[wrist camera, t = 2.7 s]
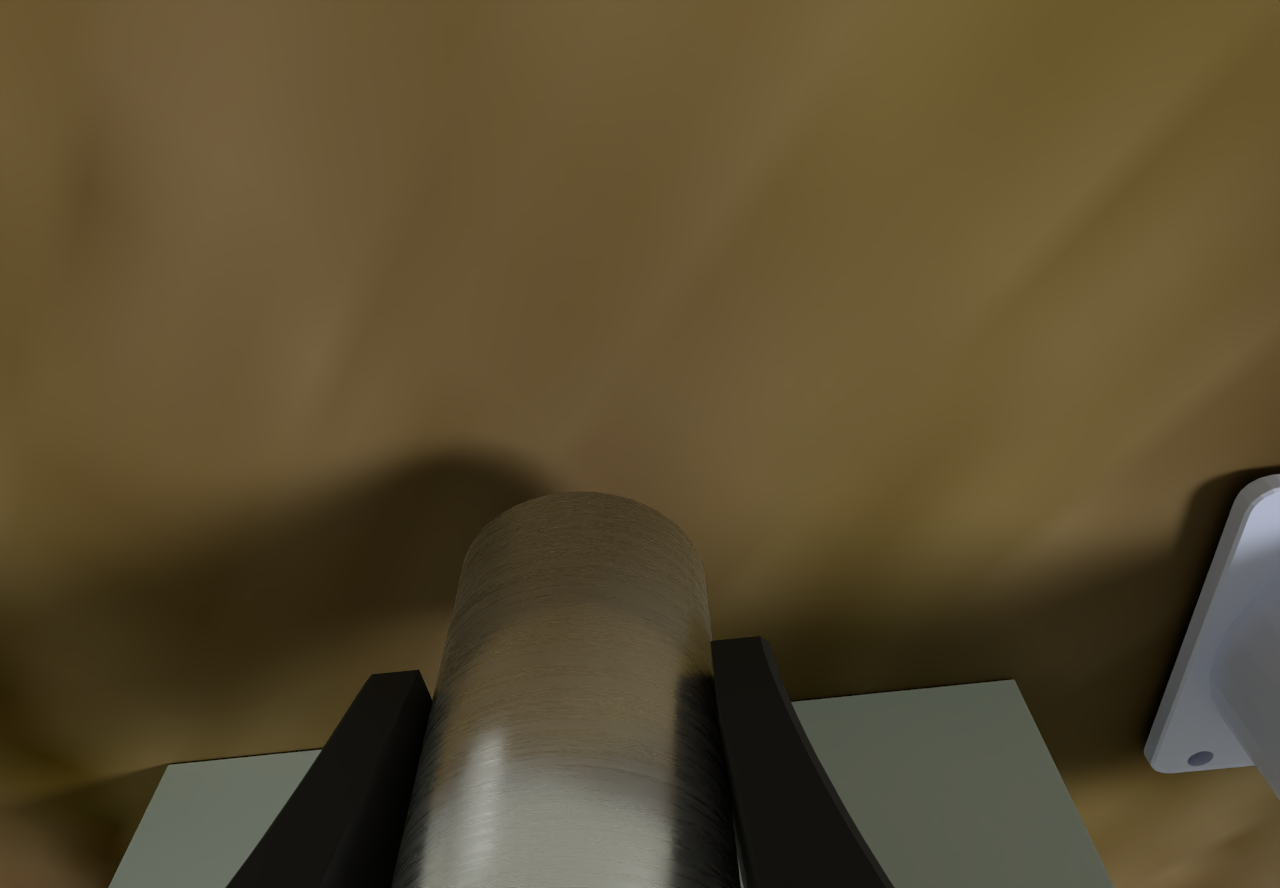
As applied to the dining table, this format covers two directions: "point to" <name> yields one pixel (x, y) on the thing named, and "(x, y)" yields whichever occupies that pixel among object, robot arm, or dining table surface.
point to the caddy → (867, 785)
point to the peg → (574, 711)
